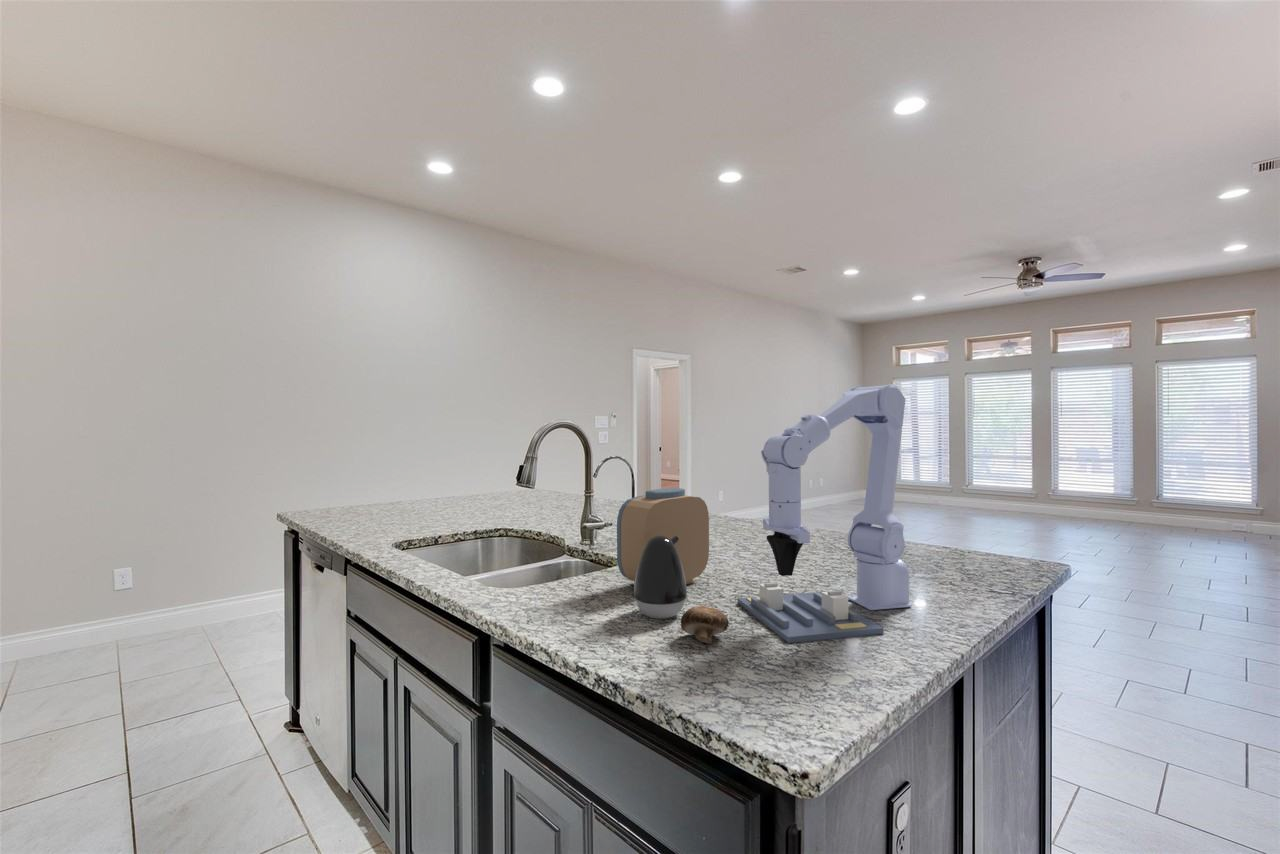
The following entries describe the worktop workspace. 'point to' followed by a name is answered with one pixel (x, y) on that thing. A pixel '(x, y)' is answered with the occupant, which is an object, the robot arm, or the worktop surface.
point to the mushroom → (704, 623)
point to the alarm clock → (663, 529)
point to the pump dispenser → (660, 579)
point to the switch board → (808, 619)
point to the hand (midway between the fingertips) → (785, 574)
